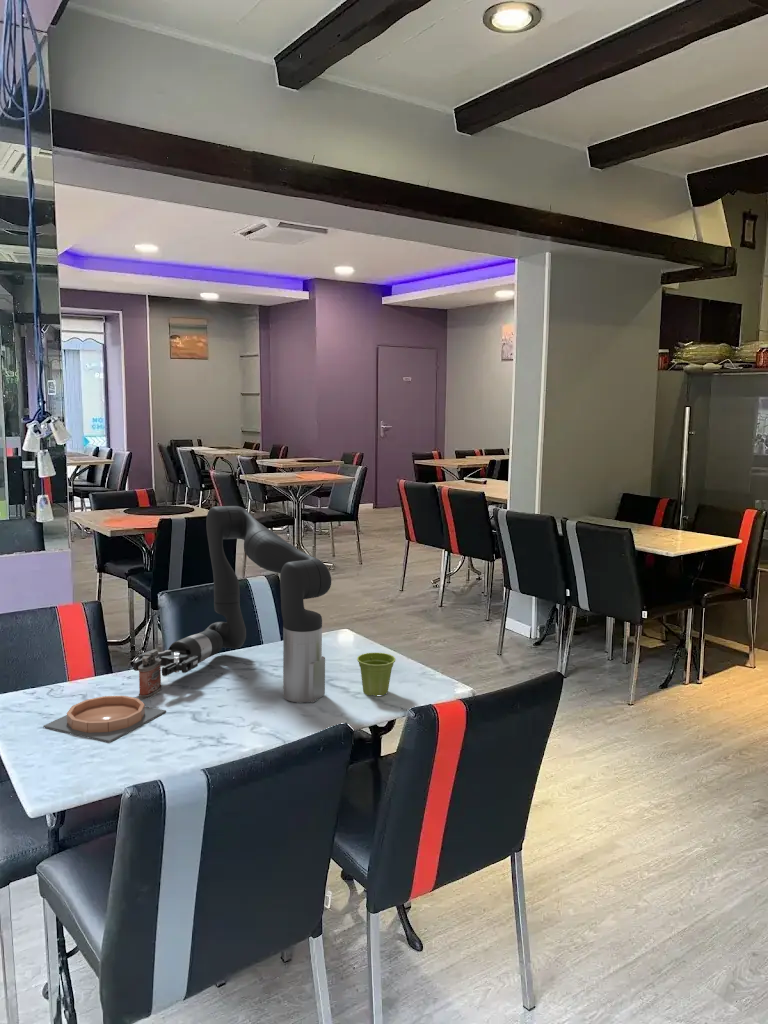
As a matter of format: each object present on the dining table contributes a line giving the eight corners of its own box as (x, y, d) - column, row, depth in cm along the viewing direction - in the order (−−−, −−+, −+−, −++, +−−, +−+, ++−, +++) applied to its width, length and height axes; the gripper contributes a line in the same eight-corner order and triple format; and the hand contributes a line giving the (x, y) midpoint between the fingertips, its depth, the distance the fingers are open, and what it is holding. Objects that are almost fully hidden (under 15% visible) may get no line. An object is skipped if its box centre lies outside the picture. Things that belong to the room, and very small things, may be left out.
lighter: (148, 699, 181) (147, 658, 180) (135, 698, 182) (134, 657, 180) (164, 688, 189) (164, 648, 187) (152, 687, 189) (151, 647, 188)
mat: (166, 712, 174) (166, 710, 174) (109, 742, 157) (109, 740, 157) (104, 699, 180) (103, 697, 180) (43, 727, 164) (43, 725, 164)
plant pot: (402, 694, 187) (403, 660, 186) (370, 702, 182) (370, 666, 181) (380, 683, 195) (381, 650, 194) (349, 690, 190) (349, 656, 189)
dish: (158, 711, 173) (158, 702, 173) (109, 737, 159) (108, 727, 158) (104, 700, 179) (104, 691, 179) (52, 724, 165) (51, 715, 164)
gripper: (168, 633, 201) (125, 650, 186) (213, 640, 196) (172, 658, 181) (168, 661, 202) (125, 680, 187) (213, 668, 197) (173, 689, 182)
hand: (148, 669), depth 184 cm, fingers open, 8 cm apart
